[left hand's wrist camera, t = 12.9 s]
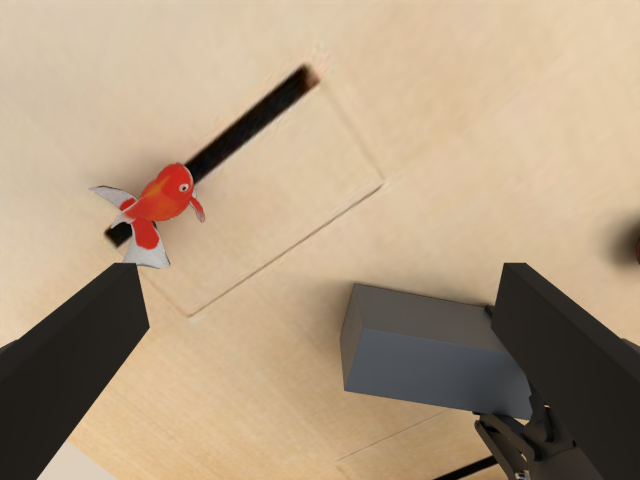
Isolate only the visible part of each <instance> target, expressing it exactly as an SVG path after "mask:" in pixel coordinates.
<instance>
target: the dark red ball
mask: <svg viewBox="0 0 640 480" xmlns="http://www.w3.org/2000/svg"><path fill="white" fill-rule="evenodd" d="M636 257H637V261H638V262H639V264H640V239H639V242H638V244H637V251H636Z"/></svg>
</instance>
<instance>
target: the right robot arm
mask: <svg viewBox="0 0 640 480" xmlns="http://www.w3.org/2000/svg"><path fill="white" fill-rule="evenodd" d="M494 308H495V306H490V305H486V306H485V309H484V310H485V311H486V313H487V314H488V315H489V317H490V318H491V319H492V317H493V312H494ZM526 377H527V376H526ZM527 381H528V384H529V387H530V390H531V395H530V396H529V402H530V405H531V408H532V415H531V418H530V421H529V422H528V423H527V424H526V425H525V426H524V425H523V424H521V423H520V422H518V421H517V420H515V419H514V418H512V417H511V416H506V415H500V414H493V413H491V414H486V413H480V412H473V411H472V413H473V414H474V415H480V419H479V420H476V421H475V429H476V431H477V432H478V434H479V435H480V437H481V438H482V440H483V441H484V443H485V444H486V445H487V447H488V448H489V450H490V451H491V453H492V454H493V456H494V457H495V459H496V460H497V462H498V463H499V465H500V466H501V467H502V469H503V470H504V472H505V473H506V475H507V476H508V479H509V480H603V478H602V477H601V476H600V474H599V473H598V471H597V470H596V469H595V467H594V466H593V465H592V463H591V462H590V461H589V459H588V458H587V457H586V455H585V454H584V453H583V451H582V450H581V449H580V447H579V446H578V445H577V443H576V442H575V441H574V439H573V438H572V437H571V435H570V434H569V433H568V431H567V430H566V429H565V427H564V426H563V425H562V423H561V422H560V420H559V419H558V418H557V416H556V415H555V414H554V412H553V411H552V410H551V408H549V407H545V406H544V405H547V406H548V404H547V403H546V402H545V400H544V399H543V398H542V396H541V395H540V394H539V392H538V391H537V390H536V388H535V387H534V386H533V384H532V383H531V382H530V380H529V379H528V378H527ZM515 447H516V448H517V449H518V450H520V451H521V452H522V453H523V455H524V456H525V457H526V460H527V462H526V461H525V459H524V458H523V457H522V455H521V454H520V453H519V452H518V450H517V449H516V448H515Z"/></svg>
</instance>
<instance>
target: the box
mask: <svg viewBox="0 0 640 480" xmlns="http://www.w3.org/2000/svg"><path fill="white" fill-rule="evenodd" d="M484 309H485V308H483V307H478V306H473V305H467V304H462V303H456V302H451V301H446V300H440V299H435V298H429V297H424V296H419V295H413V294H408V293H402V292H397V291H392V290H386V289H381V288H375V287H370V286H365V285H359V284H355V285H354V288H353V292H352V296H351V299H350V303H349V306H348V310H347V314H346V317H345V321H344V324H343V328H342V332H341V335H340V346H341V358H342V369H343V381H344V391H349V392H355V393H361V394H367V395H373V396H380V397H386V398H392V399H398V400H405V401H411V402H417V403H423V404H430V405H436V406H442V407H448V408H455V409H461V410H467V411H473V412H480V413H486V414H491V413H493V414H500V415H506V416H511V417H512V418H517V419H523V420H529V421H530V418H531V415H532V408H531V405H530V402H529V396H530V395H531V390H530V387H529V384H528V381H527V377H526V375H525V374H524V372H523V371H522V369H521V368H520V367H519V365H518V364H517V363H516V361H515V360H514V359H513V357H512V356H511V355H510V353H509V352H508V351H507V349H506V348H505V347H504V345H503V344H502V343H501V341H500V340H499V339H498V337H497V336H496V335H495V333H494V332H493V331H492V329H491V328H490V326H491V322H492V319H491V318H490V317H489V315H488V314H487V313H486V311H485V310H484Z"/></svg>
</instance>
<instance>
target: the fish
mask: <svg viewBox="0 0 640 480" xmlns="http://www.w3.org/2000/svg"><path fill="white" fill-rule="evenodd" d="M181 164H182V163H179V164H178V163H176V164H170V165H167V166H166V167H165V168H164V170H163V171H162V172H160V173H159V175H158V177H157V179H155V180H154V181H152V182H150V183H149V184H148V185H147V187H146V188H145V189H144V191H143V192H142V194H141V197H140V199H139V200H137V199H136V198H135V197H134V196H132V195H130V194H129V193H127V192H125V191H123V190H120V189H116V188H111V187H107V186H99V187H94V188H89V189H90V190H92V191H94V192H96V193H97V194H99V195H101V196H102V197H104V198H105V199H107V200H108V201H110V202H111V203H113V204H114V205H115V206H116V207H118V208H119V209H120V210H121V213H120V214H119V215H118V216H117V218H116V219H115V221H114V223H113V225H112V227H111V229H112V228H114V227H115V226H116V225H117V224H119V223H121V222H125V223H127V224H131V226H132V231H133V237H132V241H131V244H130V246H129V248H128V250H127V252H126V254H125V257H124V259H123V261H122V263H136V265H137V266H148V267H153V268H158V269H159V268H166V267H170V262H169V260H168V258H167V256H166V253H165V250H164V247H163V244H162V241H161V238H160V235H159V232H158V230H157V227H156V224H155V222H154V221H165V220H171V221H172V220H173V219H172V218H174V217H176V216H178V215H179V214H180V213H181V212H183V211H184V210H185V209H186V207H187V206H188V204H189V203H190V204H191V206H192V207H193V208H194V209H195V211H196V214H197V217H198V219H199V220H200V221H201V222H204V220H205V216H204V213H203V208H202V206H201V205H200V203H199V202H198V201H197V200H196V199H195V198H196V192H195V189H194V183H193V178H192V176H191V174H190V171H189V170H188V169H187V168H186V167H185V166H183V165H181ZM111 229H110V230H111Z"/></svg>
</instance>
